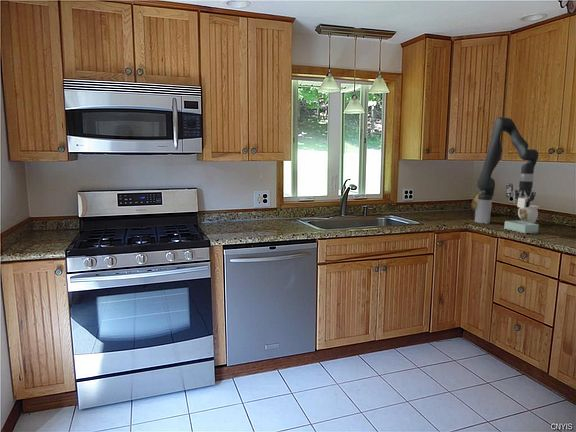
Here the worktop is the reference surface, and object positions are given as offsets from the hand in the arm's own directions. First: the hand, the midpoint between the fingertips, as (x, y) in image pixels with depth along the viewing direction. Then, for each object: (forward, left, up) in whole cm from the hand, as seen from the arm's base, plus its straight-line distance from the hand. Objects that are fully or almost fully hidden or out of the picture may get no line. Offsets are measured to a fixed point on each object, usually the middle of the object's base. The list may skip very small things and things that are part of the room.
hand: (523, 206), depth 265 cm
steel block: (0, 0, -15) cm, 15 cm away
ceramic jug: (-62, +29, -16) cm, 70 cm away
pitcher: (-22, +32, -16) cm, 42 cm away
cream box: (0, 0, 0) cm, 0 cm away
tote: (0, 0, -16) cm, 16 cm away
